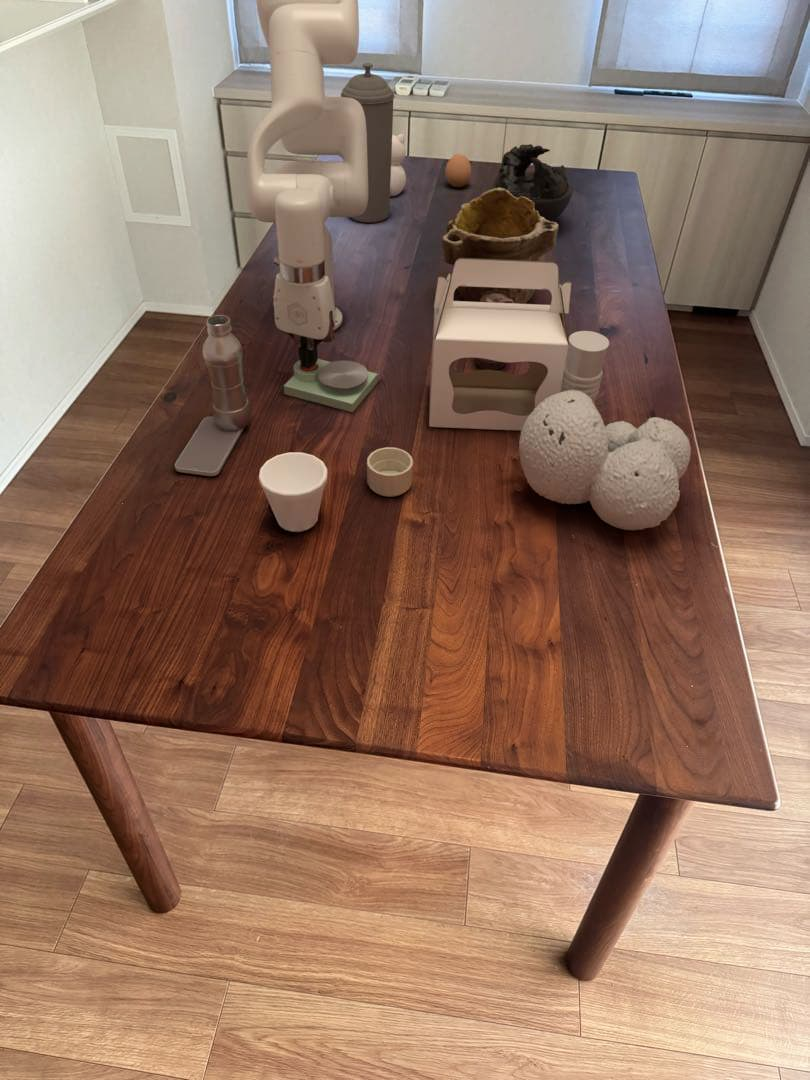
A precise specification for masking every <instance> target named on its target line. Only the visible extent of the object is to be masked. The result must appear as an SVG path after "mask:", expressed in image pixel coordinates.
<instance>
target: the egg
mask: <svg viewBox="0 0 810 1080" xmlns="http://www.w3.org/2000/svg"><path fill="white" fill-rule="evenodd" d="M472 172H473V171H472V165H471V163H470V160H469V159H468V157H466V156H465V155H463V154H462V153H456V154H454V155H453V156H452V157H450V159H449V160H448V162H447V163H446V166H445V169H444V175H445V179H446V181H447V182H448V184H449V185H450V186H452V187H454V188H462V187H464V186H465V185H467V184H468V183H469V181H470V180H471V177H472Z"/></svg>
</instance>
